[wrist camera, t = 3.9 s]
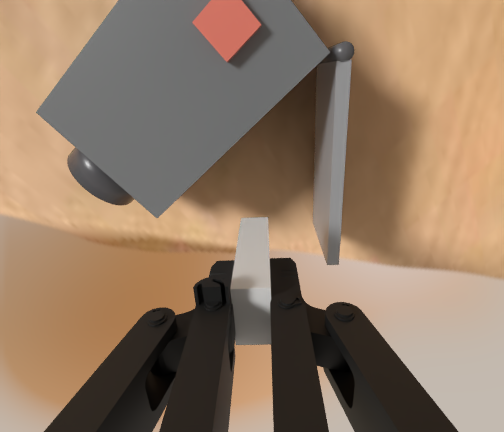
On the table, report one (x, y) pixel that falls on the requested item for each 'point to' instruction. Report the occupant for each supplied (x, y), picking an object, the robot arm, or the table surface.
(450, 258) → the table surface
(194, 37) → the camera box
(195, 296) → the robot arm
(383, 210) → the table surface
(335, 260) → the side door
